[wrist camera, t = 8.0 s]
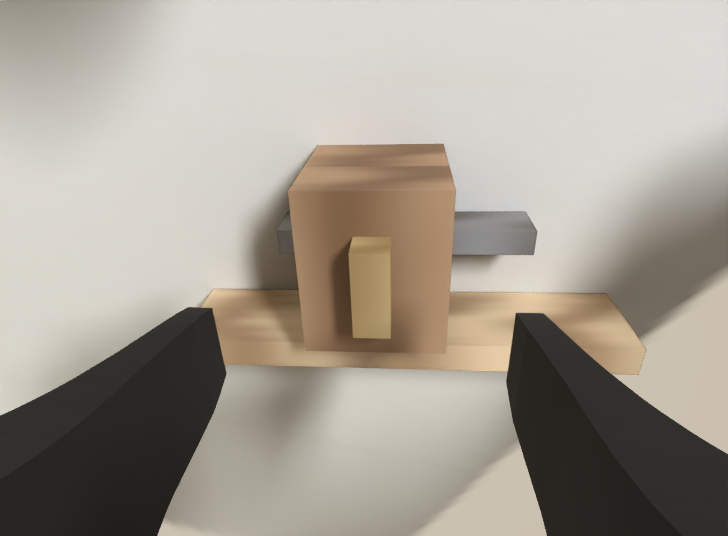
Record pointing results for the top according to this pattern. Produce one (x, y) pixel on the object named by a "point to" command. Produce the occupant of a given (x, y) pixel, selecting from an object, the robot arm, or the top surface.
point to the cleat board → (465, 319)
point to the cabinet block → (374, 247)
